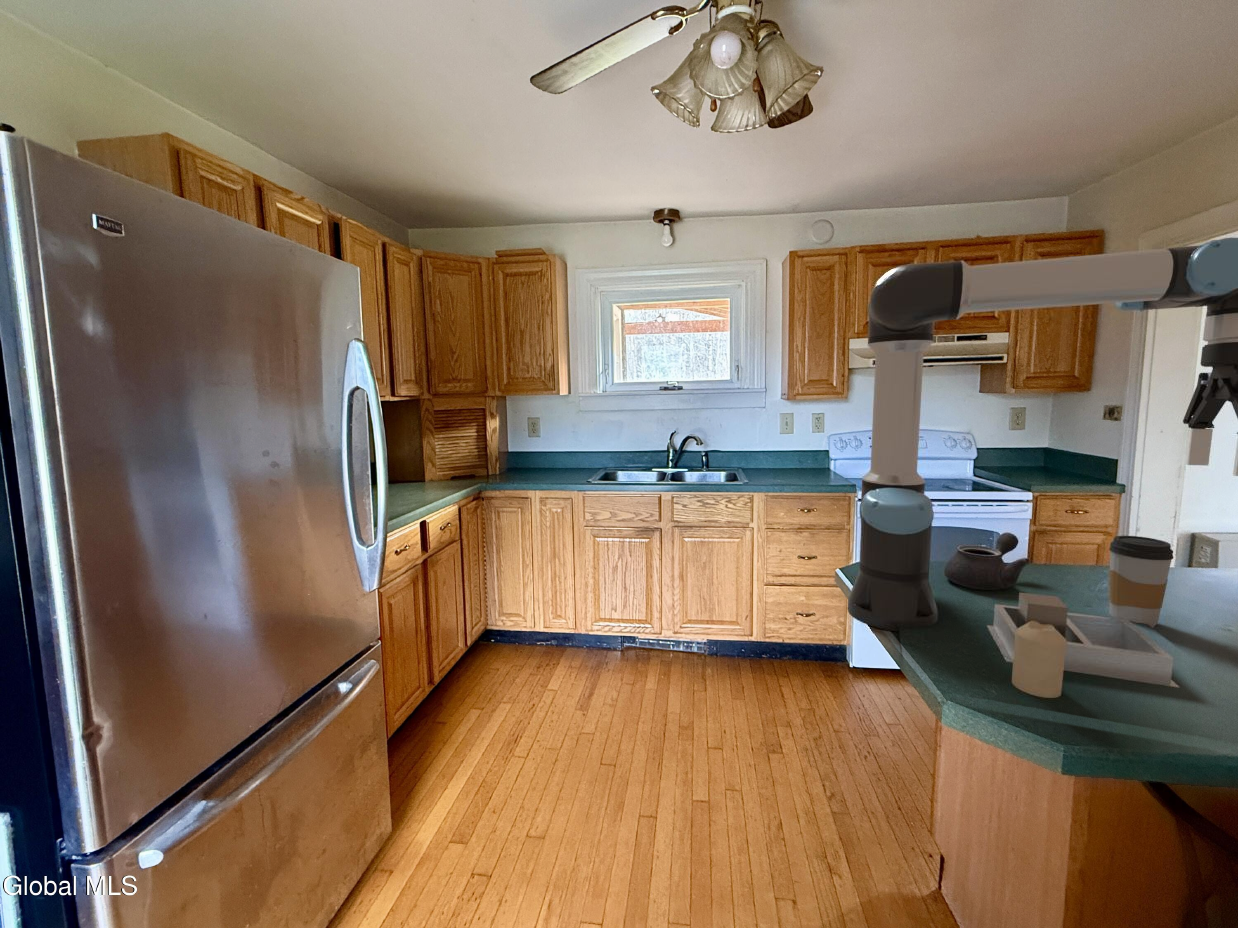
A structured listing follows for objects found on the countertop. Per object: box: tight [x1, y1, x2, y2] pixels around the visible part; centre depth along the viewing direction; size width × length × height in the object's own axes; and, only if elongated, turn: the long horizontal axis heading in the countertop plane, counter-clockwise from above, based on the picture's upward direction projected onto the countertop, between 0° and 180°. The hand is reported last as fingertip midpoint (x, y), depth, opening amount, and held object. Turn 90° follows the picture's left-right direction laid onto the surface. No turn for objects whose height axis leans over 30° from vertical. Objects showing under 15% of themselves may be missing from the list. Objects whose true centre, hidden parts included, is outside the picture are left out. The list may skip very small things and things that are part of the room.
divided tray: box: [986, 603, 1181, 688], centre depth 85 cm, size 20×14×5 cm
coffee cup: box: [1108, 535, 1174, 629], centre depth 98 cm, size 8×8×15 cm
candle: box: [1011, 621, 1066, 699], centre depth 76 cm, size 6×6×10 cm
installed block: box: [1017, 592, 1069, 638], centre depth 87 cm, size 5×5×8 cm
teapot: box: [943, 532, 1031, 591], centre depth 119 cm, size 19×15×10 cm
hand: (1219, 470), depth 92 cm, fingers open, 13 cm apart
